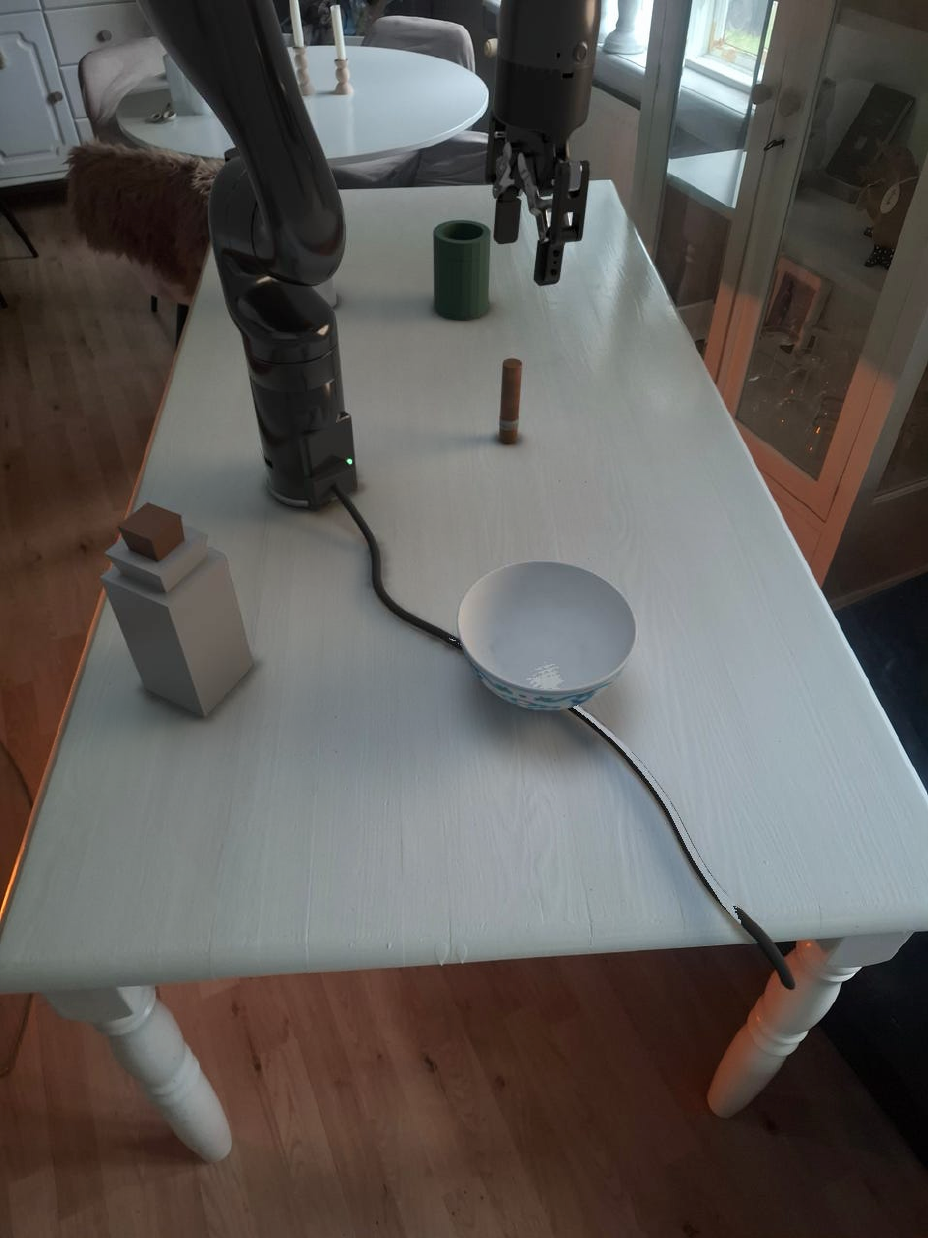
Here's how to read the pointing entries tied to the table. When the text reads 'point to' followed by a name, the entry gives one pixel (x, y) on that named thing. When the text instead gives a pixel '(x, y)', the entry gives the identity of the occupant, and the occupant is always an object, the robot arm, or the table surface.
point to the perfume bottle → (177, 609)
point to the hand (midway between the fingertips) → (525, 262)
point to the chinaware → (546, 632)
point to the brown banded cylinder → (510, 400)
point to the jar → (461, 269)
